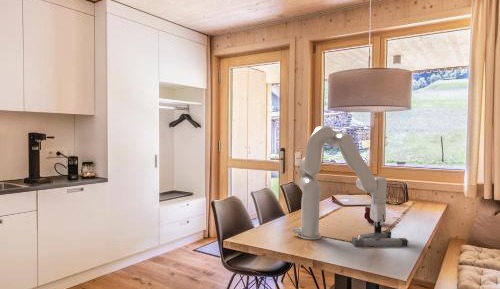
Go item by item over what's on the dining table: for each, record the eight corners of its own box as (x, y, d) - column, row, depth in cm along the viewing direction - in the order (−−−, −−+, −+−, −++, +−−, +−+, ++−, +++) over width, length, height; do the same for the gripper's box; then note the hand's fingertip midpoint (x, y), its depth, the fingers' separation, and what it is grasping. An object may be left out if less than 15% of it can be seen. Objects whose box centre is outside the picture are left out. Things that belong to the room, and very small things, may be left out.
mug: (371, 226, 208) (372, 209, 207) (359, 223, 214) (360, 207, 213) (380, 223, 215) (381, 207, 214) (369, 220, 221) (369, 204, 220)
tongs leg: (361, 243, 176) (361, 236, 176) (357, 241, 179) (357, 235, 179) (391, 237, 186) (391, 231, 186) (386, 235, 189) (386, 230, 189)
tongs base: (354, 246, 171) (355, 238, 171) (351, 243, 176) (351, 235, 176) (408, 246, 172) (408, 238, 172) (403, 243, 177) (403, 235, 177)
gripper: (366, 197, 194) (365, 229, 195) (377, 203, 179) (377, 238, 180) (379, 197, 195) (378, 229, 196) (392, 203, 180) (391, 237, 181)
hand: (377, 233), depth 188 cm, fingers closed
